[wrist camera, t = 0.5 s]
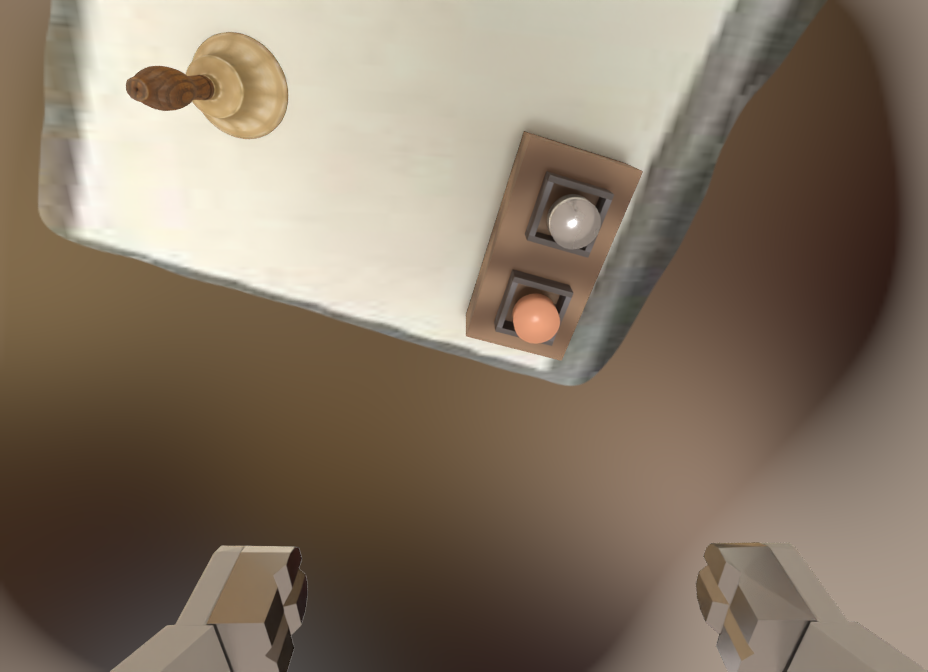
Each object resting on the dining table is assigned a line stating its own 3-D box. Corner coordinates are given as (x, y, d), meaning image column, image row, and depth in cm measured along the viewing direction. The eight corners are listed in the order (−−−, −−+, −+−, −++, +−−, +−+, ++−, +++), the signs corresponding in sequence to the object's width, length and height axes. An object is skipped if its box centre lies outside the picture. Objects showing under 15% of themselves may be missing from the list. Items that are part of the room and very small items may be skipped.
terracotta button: (520, 288, 44) (522, 296, 42) (562, 299, 45) (566, 308, 43) (506, 327, 46) (508, 337, 44) (547, 338, 46) (550, 348, 44)
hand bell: (260, 17, 41) (153, -19, 27) (304, 121, 45) (229, 138, 30) (172, 51, 42) (24, 34, 28) (222, 150, 46) (112, 180, 32)
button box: (523, 131, 45) (533, 138, 39) (625, 163, 46) (650, 175, 40) (465, 315, 53) (466, 345, 47) (553, 338, 54) (565, 370, 48)
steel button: (556, 188, 40) (560, 193, 38) (602, 202, 41) (608, 207, 39) (539, 235, 42) (543, 241, 40) (583, 247, 42) (589, 254, 41)
